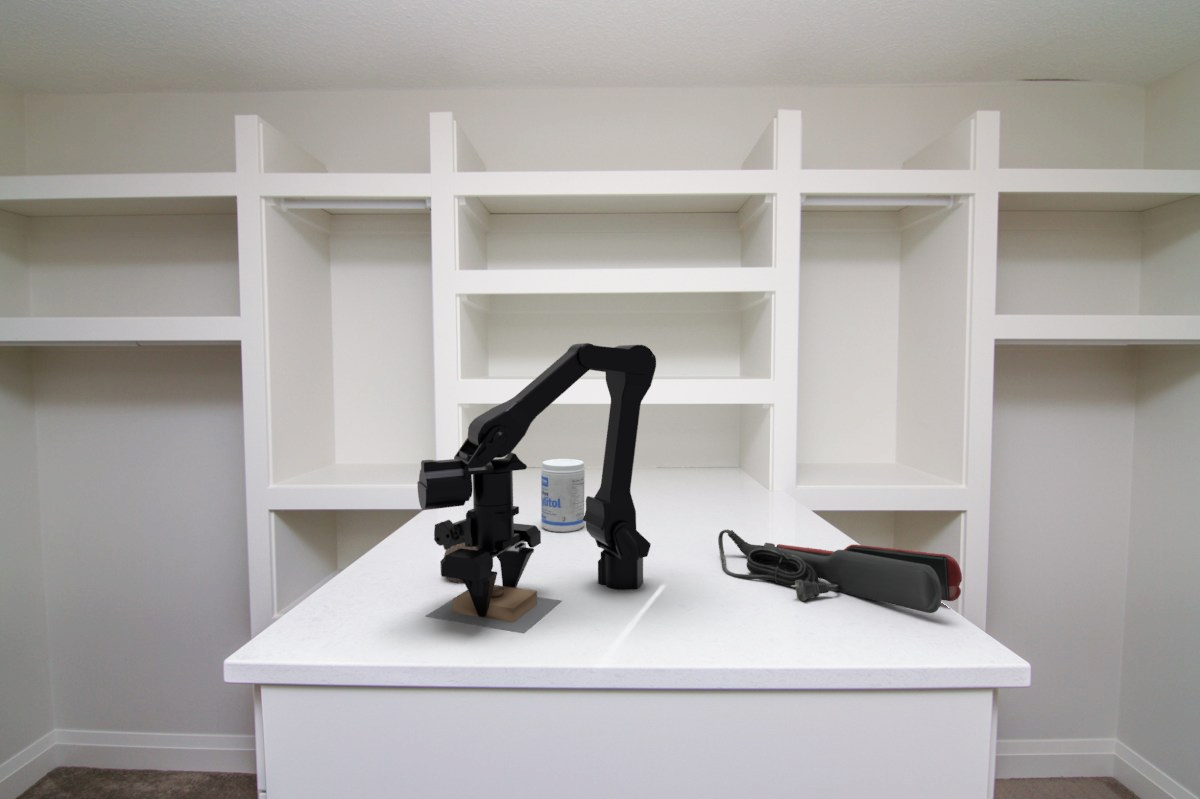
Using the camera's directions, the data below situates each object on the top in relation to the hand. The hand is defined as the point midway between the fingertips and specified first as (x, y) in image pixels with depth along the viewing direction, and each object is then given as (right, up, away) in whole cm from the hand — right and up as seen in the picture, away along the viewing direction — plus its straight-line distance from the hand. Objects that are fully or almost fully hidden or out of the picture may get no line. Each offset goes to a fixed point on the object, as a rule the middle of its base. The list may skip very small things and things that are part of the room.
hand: (495, 606), depth 93 cm
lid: (0, 0, 0) cm, 0 cm away
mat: (0, -1, 0) cm, 1 cm away
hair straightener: (+53, -1, +11) cm, 54 cm away
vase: (-7, -1, +14) cm, 16 cm away
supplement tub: (+7, +2, +48) cm, 48 cm away
